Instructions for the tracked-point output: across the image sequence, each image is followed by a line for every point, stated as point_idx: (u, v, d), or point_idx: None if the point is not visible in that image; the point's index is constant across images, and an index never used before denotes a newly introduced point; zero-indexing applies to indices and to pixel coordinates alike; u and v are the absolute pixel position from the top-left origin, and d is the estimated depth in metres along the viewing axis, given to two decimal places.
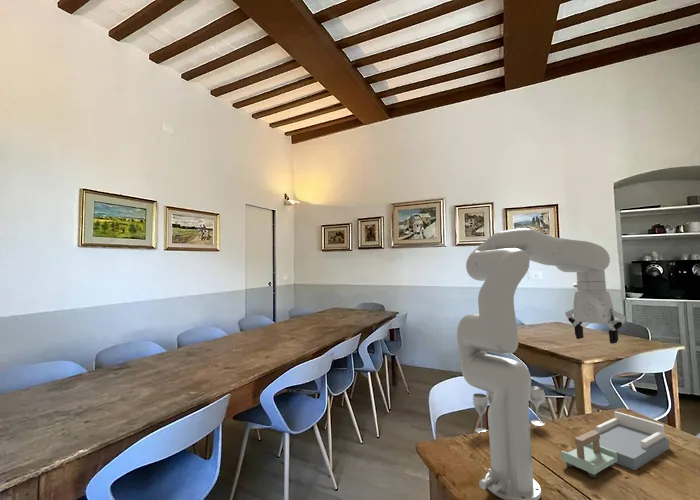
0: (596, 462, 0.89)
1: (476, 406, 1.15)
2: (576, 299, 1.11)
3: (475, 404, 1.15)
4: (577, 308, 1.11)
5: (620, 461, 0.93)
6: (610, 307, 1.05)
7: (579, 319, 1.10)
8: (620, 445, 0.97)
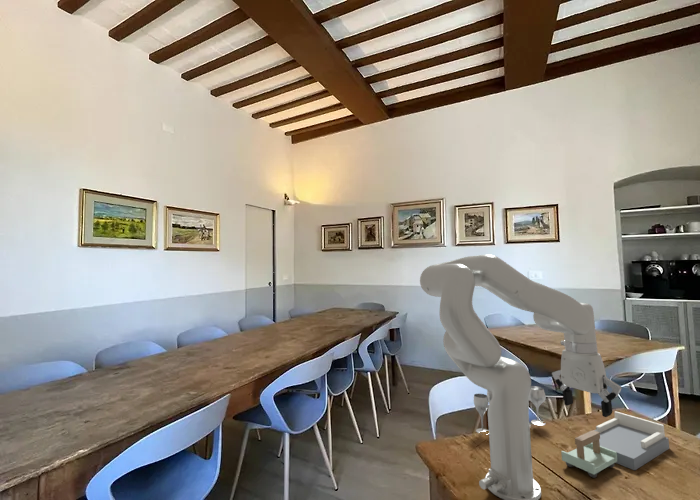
0: (596, 462, 0.89)
1: (477, 406, 1.14)
2: (563, 360, 0.97)
3: (476, 404, 1.15)
4: (565, 370, 0.96)
5: (620, 461, 0.93)
6: (602, 374, 0.90)
7: (567, 384, 0.96)
8: (620, 445, 0.97)
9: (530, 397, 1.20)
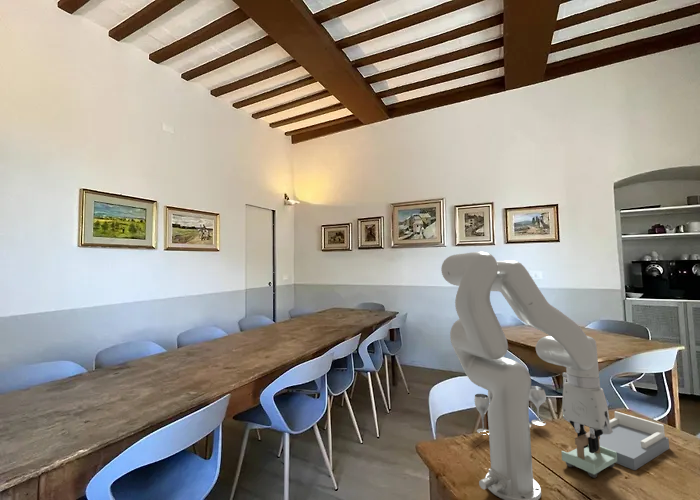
0: (596, 462, 0.89)
1: (478, 407, 1.14)
2: (565, 393, 0.96)
3: (477, 405, 1.14)
4: (566, 404, 0.95)
5: (620, 461, 0.93)
6: (604, 410, 0.89)
7: (569, 417, 0.95)
8: (620, 445, 0.97)
9: (530, 397, 1.20)
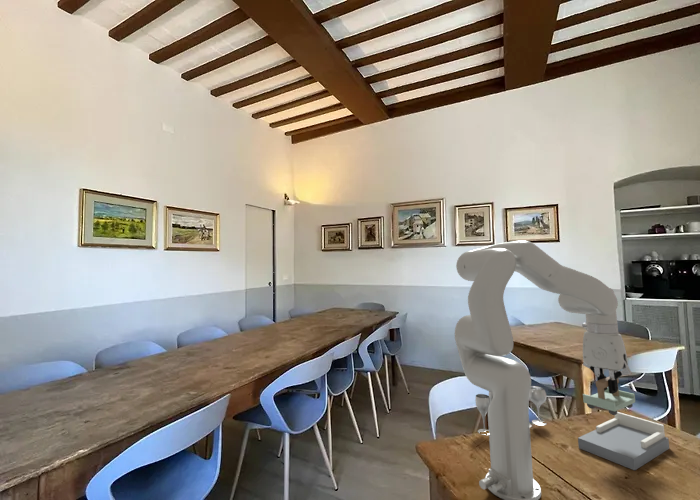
0: (616, 402, 0.97)
1: (479, 407, 1.14)
2: (585, 341, 1.03)
3: (478, 405, 1.14)
4: (587, 351, 1.02)
5: (620, 461, 0.93)
6: (623, 352, 0.96)
7: (589, 363, 1.02)
8: (620, 445, 0.97)
9: (531, 397, 1.20)
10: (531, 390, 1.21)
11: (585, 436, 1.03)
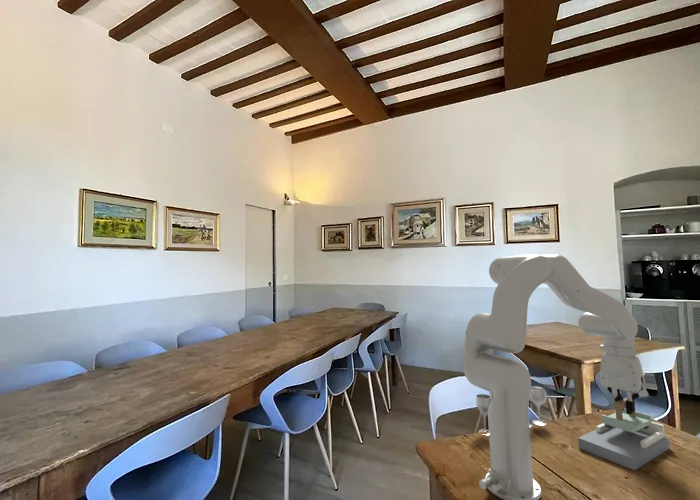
0: (633, 423, 1.00)
1: (480, 407, 1.14)
2: (603, 362, 1.07)
3: (479, 405, 1.14)
4: (604, 372, 1.06)
5: (620, 461, 0.93)
6: (641, 375, 1.00)
7: (607, 384, 1.06)
8: (620, 445, 0.97)
9: (531, 397, 1.20)
10: (531, 390, 1.21)
11: (585, 436, 1.03)
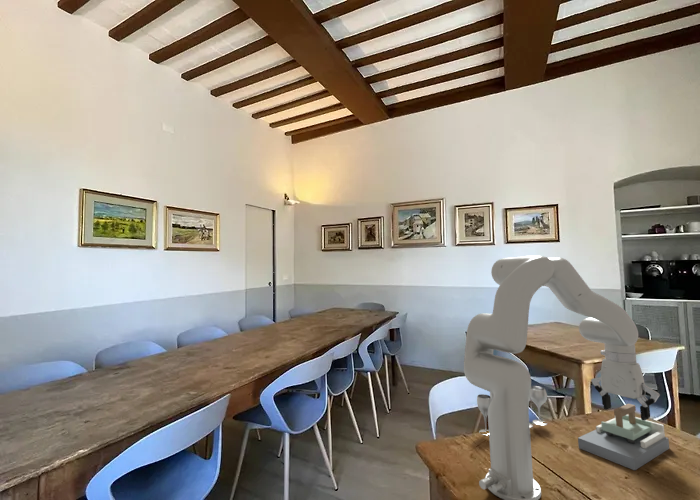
0: (634, 430, 1.00)
1: (480, 407, 1.13)
2: (604, 368, 1.07)
3: (479, 405, 1.14)
4: (605, 378, 1.06)
5: (620, 461, 0.93)
6: (641, 381, 1.00)
7: (607, 390, 1.06)
8: (620, 445, 0.97)
9: (532, 397, 1.20)
10: (532, 390, 1.21)
11: (585, 436, 1.03)
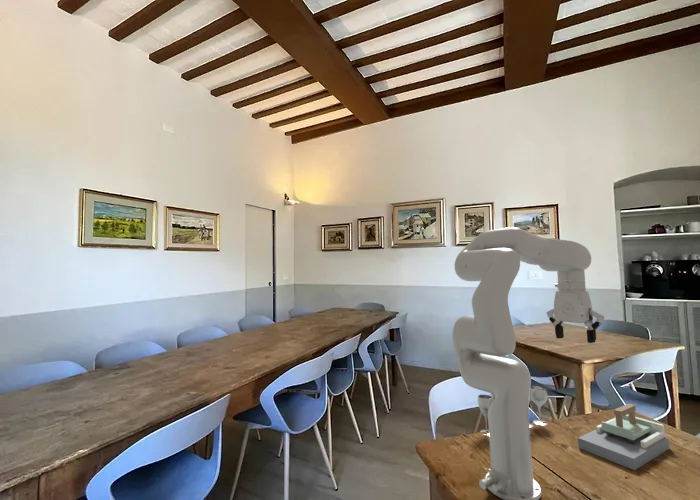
0: (634, 430, 1.00)
1: (481, 408, 1.13)
2: (556, 299, 1.12)
3: (480, 406, 1.13)
4: (557, 307, 1.12)
5: (620, 461, 0.93)
6: (588, 307, 1.05)
7: (559, 318, 1.11)
8: (620, 445, 0.97)
9: (532, 397, 1.20)
10: (532, 390, 1.21)
11: (585, 436, 1.03)
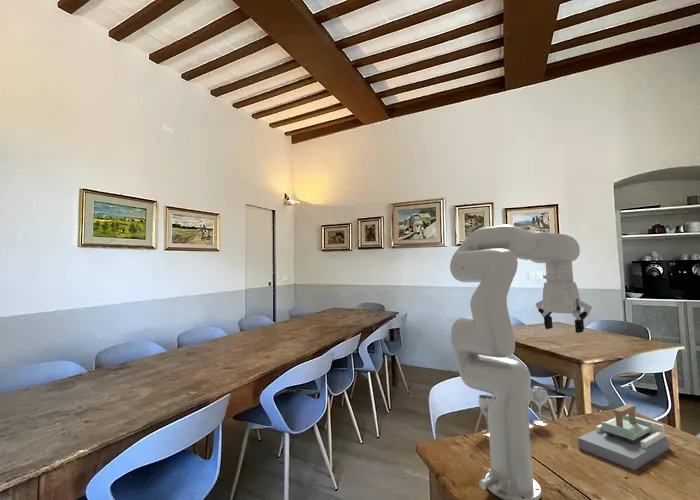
0: (634, 430, 1.00)
1: (482, 408, 1.13)
2: (545, 290, 1.13)
3: (481, 406, 1.13)
4: (546, 298, 1.13)
5: (620, 461, 0.93)
6: (576, 297, 1.07)
7: (547, 309, 1.12)
8: (620, 445, 0.97)
9: (533, 397, 1.20)
10: (533, 390, 1.21)
11: (585, 436, 1.03)
